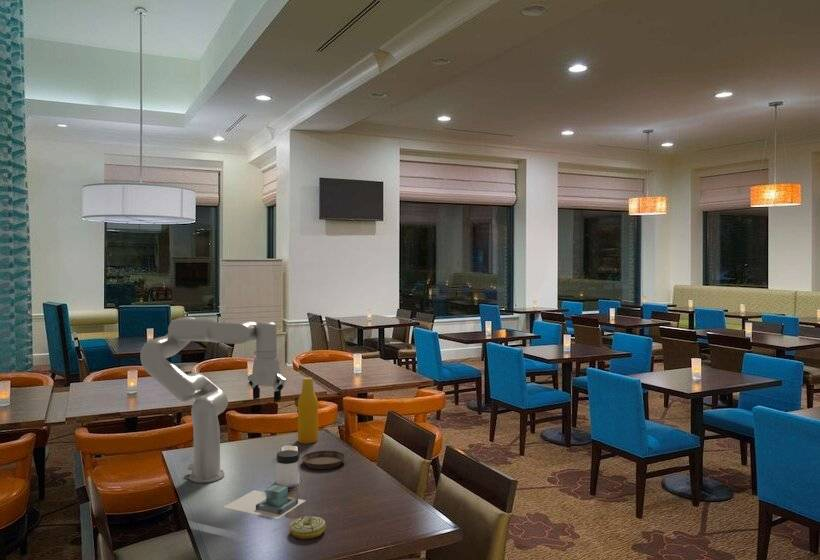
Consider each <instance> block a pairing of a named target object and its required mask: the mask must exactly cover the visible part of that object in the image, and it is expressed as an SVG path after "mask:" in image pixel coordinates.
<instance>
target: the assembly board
mask: <svg viewBox="0 0 820 560" xmlns="http://www.w3.org/2000/svg"><path fill="white" fill-rule="evenodd" d="M306 501H307V500H305V499H300V498H296V497H290V496H288V503H287V504H285V505H284V506H282V507H280V508H277V507H272V506H267V505H266V492H265V491H260V490H255V489H253V490H252V491H250V492H248V493H246V494H244V495H243V496H241V497H239V498H237V499H235V500H233V501H231V502H230V503H228V504H226V505H224V506H222V508H224V509H228V510H233V511H238V512H241V513H246V514H252V515H256V516H259V517H260V516H261V517H265V518H271V519H274V520H278V519H280V518H282V517H284V516H285V515H286V514H288V513H289V512H291V511H293V510H294V509H295V508H297V507H299V506H300V505H302V504H303V503H305V502H306Z"/></svg>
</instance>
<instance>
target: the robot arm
mask: <svg viewBox="0 0 820 560" xmlns="http://www.w3.org/2000/svg"><path fill="white" fill-rule="evenodd" d="M277 327H278V326H277V324H276V323H275V322H273V321H262V322H260V321H252V320H246V321H242V322H239V323H227V322H224V323H223V322H219V321H218V322H217V321H215V320H214V319H212V318H195V317H193V316H183V317H179V318H176V319H174V320H172V321H171V322H170V323H169V325H168V327H167V330H168V333H166V334H165V335H164V336H160V337H156V338H153V339H149V340H148V341H147V342H146V343H144V345H143V346H142V348H141V350H140V359H139V360H140V363H141V366H142V368H143V369H144V370H145V371H146V373H147V374H148V375H149V376H151V377H152V378H153V379H155V380H156V381H157V382H158V383H159V384H160V385H161V386H163V387H164V388H165V389H166V390H167V391H168V392H169V393H170V394H172V395H173V397H174V398H176V399H177V400H179V401H181V402H190V401H192V400H194V402H193V403H192V405H191V411H190V412H191V420H192V428H193V431H192V432H193V462H190V463H189V465H188V466H187V467H186V469H187V470H189V471H191V473H190V475H189V481H191V482H193V483H198V484H204V483H206V484H207V483H212V482H216V481H219V480H222V479H223V478H224V477H225V471H224V470H223V469H221V430H220V421H219V418H218V416H219V415H221V414H222V413H224V411H225V410H226V409H227V408H228V404H229V400H228V399H229V398H228V396H227V394H226V393H225V392H224V391H223V390H222V389H220V388H219V386H217V385H216V384H215V383H213V381H212V380H210V379H209V378H208V377H207V376H205V375H204V374H202V373H199V372H192V373H188V374H187V373H186V372H184V371H183V370H182V369H180V367H178V366H177V365H176V364H174V363H173V362H170V361H168V360H167V359H168V358H171V357H175V355H176V354H177V355H178V353H179V352H180V351H181V350H183V349H184V348H185V347H186V346H188V344H190V343H191V342H208V343H209V342H211V343H217V344H234V345H236V344H237V345H241V344H245V343H248V342H250V341H254V340H255V343H256V344H255V347H256V348H255V351H254V355H256V356H255V358H253V359H254V360H253V364H252V372H251V373H252V374H249V375H247V380H248V385H250V387H251V389H252V399H253V400H257V399H259V398H261V397H260V396H261V394H260V391H261V389H260V388H261V387H259V386H263V387H272V388H273V389H274V391H273V402H274V403H277V402H280V401H281V398H282V397H281V395H282V390H283V388H284V387H285V385H286V383H287V379H286V378H285V377H284V376H282V375H281V369H280V363H279V358H278V356H277V355H278V353H277V351H278V350H277V349H278V348H277V345H278V343H277V339H278V337H277V335H278V334H277V331H278V330H277Z"/></svg>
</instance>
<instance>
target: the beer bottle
mask: <svg viewBox="0 0 820 560" xmlns="http://www.w3.org/2000/svg"><path fill="white" fill-rule="evenodd" d="M318 440H319V402H318V398H317V394H316V393H315V389H314V381H313V377H303V378H302V386H301V393H300V395H299V397H298V400H297V441H298V443H300V444H313V443H317V441H318Z"/></svg>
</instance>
